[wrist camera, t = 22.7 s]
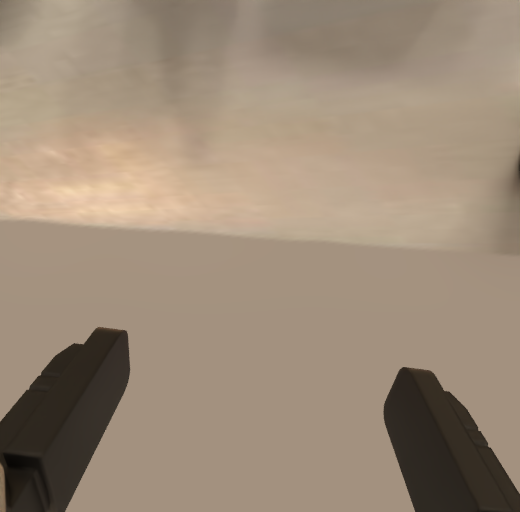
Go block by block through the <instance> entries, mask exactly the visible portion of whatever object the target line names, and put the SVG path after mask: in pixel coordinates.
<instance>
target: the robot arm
mask: <svg viewBox="0 0 520 512" xmlns="http://www.w3.org/2000/svg"><path fill="white" fill-rule="evenodd" d="M129 374H130V362H129V347H128V334H127V331H125V330H118V329H110V328H103V327H98V328H96V329H95V330H94V332H93V333H92V334H91V336H90V337H89V338H88V339H87V341H86V342H85V343H84V345H83V344H75V343H74V344H72V345H71V346H69V347H68V348H66V349H65V350H63V351H62V352H60V353H59V354H57V355H56V356H55V357H54V358H53V359H52V360H51V362H50V363H49V364H48V365H47V366H46V368H45V369H44V370H43V371H42V373H41V375H40V376H38V377H37V379H36V380H35V381H34V382H33V383H32V384H31V386H30V388H29V390H26V392H25V393H24V394H23V395H22V397H21V398H20V399H19V400H18V401H17V403H16V404H15V405H14V406H13V407H12V409H11V410H10V411H9V412H8V413H7V414H6V416H5V417H4V418H3V419H2V421H1V422H0V512H65V510H66V508H67V506H68V504H69V502H70V500H71V498H72V496H73V494H74V492H75V490H76V488H77V486H78V484H79V482H80V480H81V478H82V476H83V474H84V472H85V470H86V468H87V466H88V464H89V462H90V460H91V458H92V456H93V454H94V452H95V450H96V448H97V446H98V444H99V442H100V440H101V438H102V436H103V434H104V432H105V430H106V428H107V426H108V424H109V422H110V420H111V418H112V416H113V414H114V412H115V410H116V408H117V406H118V404H119V402H120V400H121V397H122V396H123V394H124V391H125V389H126V386H127V383H128V379H129ZM384 421H385V425H386V428H387V431H388V434H389V437H390V440H391V443H392V445H393V448H394V451H395V454H396V457H397V460H398V463H399V466H400V469H401V472H402V475H403V477H404V480H405V483H406V486H407V489H408V492H409V495H410V498H411V501H412V503H413V507H414V509H415V512H520V494H519V492H518V491H517V489H516V488H515V486H514V484H513V483H512V481H511V480H510V478H509V476H508V475H507V473H506V472H505V470H504V468H503V467H502V465H501V463H500V462H499V460H498V459H497V457H496V455H495V454H494V452H493V451H492V449H491V448H489V447H488V443H487V441H486V439H485V438H484V436H483V435H482V433H481V431H478V427H477V425H476V423H475V422H474V420H473V418H472V417H471V415H470V414H469V412H468V410H467V409H466V408H465V407H464V406H463V405H462V404H461V403H460V402H459V401H458V400H457V399H456V398H455V397H454V396H453V395H452V394H451V393H450V392H447V391H444V390H443V388H442V387H441V385H440V383H439V381H438V380H437V378H436V376H435V375H434V373H432V372H431V371H429V370H423V369H414V368H407V367H403V368H402V369H400V370H399V372H398V374H397V377H396V379H395V381H394V384H393V385H392V388H391V390H390V392H389V394H388V396H387V399H386V401H385V404H384Z"/></svg>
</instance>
